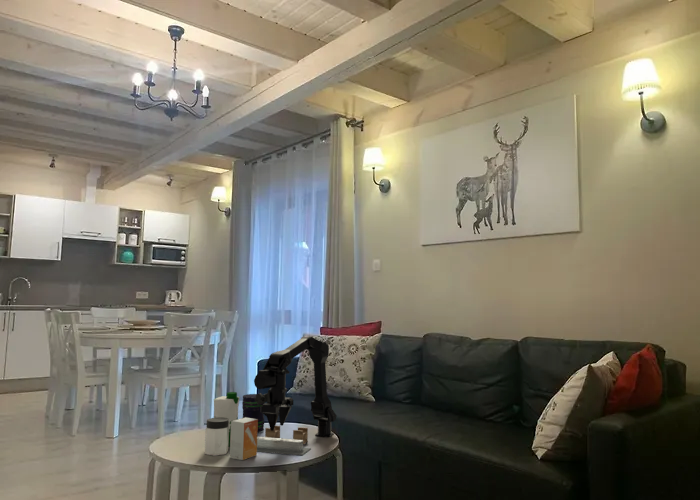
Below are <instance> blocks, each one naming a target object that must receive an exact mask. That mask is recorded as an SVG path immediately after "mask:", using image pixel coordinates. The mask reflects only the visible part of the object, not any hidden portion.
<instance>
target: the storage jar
mask: <svg viewBox="0 0 700 500" xmlns="http://www.w3.org/2000/svg"><path fill="white" fill-rule="evenodd" d="M257 394H258V393H248V394H244V395H242V404H241V405H242V406H241V407H242V418H245V417H246V418H253V419H258V431H257V433H262V432H264V431H265V429H264V427H265V426H264V425H265V415H264V414H262V412H260V410H261V406H262V405H263V404H265V403H266V402H265V403H263V404H260V405H258V404H257V402H255V398H256V395H257Z"/></svg>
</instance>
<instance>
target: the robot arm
mask: <svg viewBox="0 0 700 500" xmlns="http://www.w3.org/2000/svg"><path fill="white" fill-rule="evenodd" d="M329 349H330V348H329V344H328V343H327V342H325V341H321V340H319V339H316V338H314V337H312V336H309V335H307V336H306V335H305V336H302V337H300V338H299V339H298V340H297V341H295V342H293V343H292V344H290V345H289V346H287V347H286V348H284V349H282V350H278V351H275V352H272V353H271V354H270V355H269V357H268V359H267V361H266V364H265V365H264V367H263V369H260V370H258V371H257V372H258V373H257V374H256V375H255V377H254V380H253V384H254V386H255V388H257V389H258V390H264V389H268V390H267V393H264V394H263V393H261V392H260V393H256V394H257V395H256V398H255V402H257V404H258V405H260V404H263V403H265V404H263V405H262V406H261V410H260V412H262V414H264V417H266V419H267V422H268V426H269V428H270V430H271V431H273V430H274V428H275V426H277V423H278V422H277V421H278V419H279V426H280V427H281V426H284V424H285V422H286V419H287V417H288V416H289V414H290V411H291V410H292V408H293V406H294V399H293V398H292V397H286V392H287V391H288V388H286V381H287V380H286V377H287V376H286V375H289V374H290V373H291V372H290V371H289V370H288V369H287V367H289V366H290V365H291V364H292V362H293V359H294V358H296V357H297V356H299V355H300V354H301V353H303V352H304V351H308V353H309V358H310V360H311V361H312V363H313V376H314V394H315V397H314V399H313V400H312V401H311V402H310V407H311V409H310V412H311V414H312V418H313V420H315V421H317V433H316V434H314V435H315V437H323V438H324V437H326V438H330V437H332V436H333V435H334V433H335V432H333V431H332V423H333V422H335V421H336V420H337V414H336V413H335V411H334V410H333V406H332V402H331V400H330V398H329V396H328V388H327V387H328V386H327V371H326V370H327V368H326V367H327V366H326V361H327V359H328V357H329V354H330V351H329Z"/></svg>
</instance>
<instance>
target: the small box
mask: <svg viewBox="0 0 700 500" xmlns="http://www.w3.org/2000/svg"><path fill="white" fill-rule="evenodd" d="M257 431H258V419H253V418H246V417H245V418H243V417H242V418H238V419H237V420H234V421H231V437H230V447H229V459H234V460H240V461H245V460H246V459H249V458H253V457H255V456H257V454H258V452H257V437H258V432H257Z"/></svg>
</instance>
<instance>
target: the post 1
mask: <svg viewBox="0 0 700 500" xmlns="http://www.w3.org/2000/svg"><path fill="white" fill-rule="evenodd" d="M264 431H265V433H264V437H269V438H281V425H275V428H274V430H273V431H271V430H270V427H265V429H264Z"/></svg>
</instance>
